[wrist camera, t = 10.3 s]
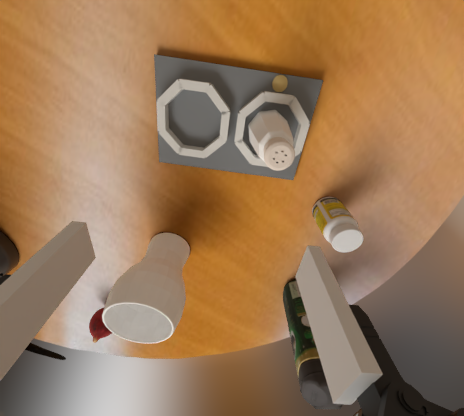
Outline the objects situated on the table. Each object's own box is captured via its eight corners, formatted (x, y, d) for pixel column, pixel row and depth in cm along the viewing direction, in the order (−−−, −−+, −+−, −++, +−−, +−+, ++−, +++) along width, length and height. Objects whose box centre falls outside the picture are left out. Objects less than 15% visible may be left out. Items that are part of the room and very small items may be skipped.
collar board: (161, 160, 33) (155, 165, 31) (156, 55, 26) (149, 53, 24) (292, 177, 33) (295, 184, 31) (321, 80, 27) (327, 80, 25)
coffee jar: (318, 305, 49) (354, 415, 33) (282, 306, 50) (301, 414, 34) (321, 275, 44) (367, 387, 28) (282, 277, 45) (304, 388, 29)
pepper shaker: (278, 155, 31) (294, 190, 21) (242, 144, 30) (242, 175, 21) (295, 116, 28) (321, 136, 19) (255, 102, 27) (262, 116, 18)
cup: (139, 222, 39) (88, 295, 26) (198, 229, 39) (177, 304, 26) (144, 264, 44) (105, 341, 32) (196, 270, 45) (178, 349, 32)
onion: (97, 299, 51) (74, 333, 44) (120, 298, 50) (101, 333, 44) (106, 314, 54) (86, 348, 47) (128, 313, 53) (112, 348, 47)
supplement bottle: (323, 225, 38) (342, 260, 30) (305, 209, 36) (321, 242, 29) (347, 207, 36) (374, 240, 28) (329, 190, 34) (352, 220, 27)
